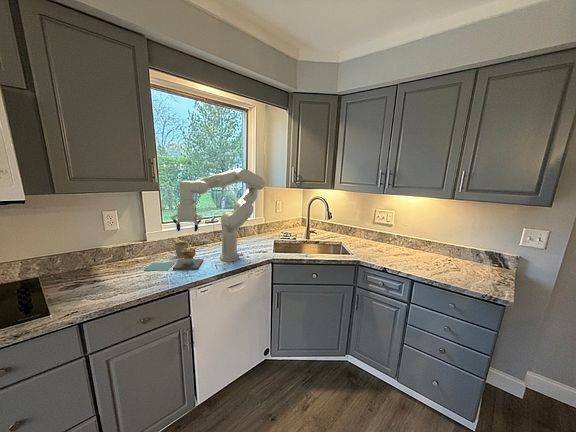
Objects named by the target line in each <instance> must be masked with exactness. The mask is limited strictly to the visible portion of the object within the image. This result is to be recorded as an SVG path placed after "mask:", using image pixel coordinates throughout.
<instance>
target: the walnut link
mask: <svg viewBox="0 0 576 432" xmlns="http://www.w3.org/2000/svg"><path fill="white" fill-rule="evenodd" d="M189 248H190V251H187V248H184V249H183V250H182V251H181V257H180V259H184V258H193V259H194V257H195V255H196V247H195V248H194V247H189Z"/></svg>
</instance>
